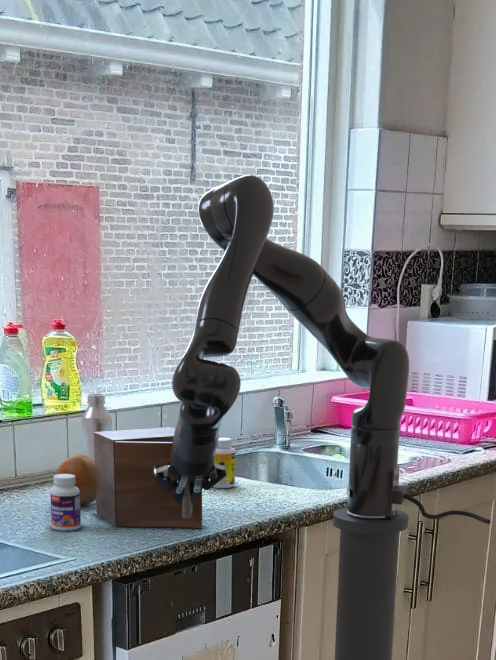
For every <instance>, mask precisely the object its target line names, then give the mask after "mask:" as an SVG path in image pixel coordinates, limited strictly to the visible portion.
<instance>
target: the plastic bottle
mask: <svg viewBox="0 0 496 660" xmlns="http://www.w3.org/2000/svg"><path fill="white" fill-rule="evenodd" d="M86 399H87V401H86V404H87V405H88V406H87V408H86V409H85V411H84V413H83V415H82V417H81V426H82V433H83V439H84V453H85V454H84V455H85V456H87V457H89V458H91V459H92V460H94V461H95V451H94V432H103V431H112V427H113V419H112V415H111V414H110V413H109V411H108V409H107V407H105V405H106V397H105V394H104V393H100V392H99V393H96V392H95V393H93V392H92V393H87V397H86Z"/></svg>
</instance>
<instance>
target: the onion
mask: <svg viewBox="0 0 496 660" xmlns="http://www.w3.org/2000/svg"><path fill="white" fill-rule="evenodd" d="M57 474H72V475H75V484H74V486H75V487H77V488H78V489H79V491H80V507H82V506H86V505H89V504H91V503H93V502H94V501H96V481H95V461H94V460H92V459H91V458H89V457H87V456H85V454H83V453H81V454H79V453H78V454H73V455H72V456H70V457H68V458H66V459H65V460H64V461H63V462H61V464H60V465H59V467H58V468H57V470H56V471H55V473H54V475H57Z"/></svg>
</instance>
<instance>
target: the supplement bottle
mask: <svg viewBox="0 0 496 660" xmlns="http://www.w3.org/2000/svg"><path fill="white" fill-rule="evenodd" d="M232 442H233V439H232V438H230V437H219V439H218V448H217V450H216V454H215V459H214V463H216V464H218V463H219V462H224V463H225V468H226V474H227V475H226V476H225V477H224V478H223V479H222V480H220V481H219V482H218V483H217V484H216V485H214V486H213V487H212V488H215V489H228V488H229V489H230V488H233V487H234V486H235V484H236V449H235V448H234V447H232V446H233V443H232ZM209 481H210V479H209Z"/></svg>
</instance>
